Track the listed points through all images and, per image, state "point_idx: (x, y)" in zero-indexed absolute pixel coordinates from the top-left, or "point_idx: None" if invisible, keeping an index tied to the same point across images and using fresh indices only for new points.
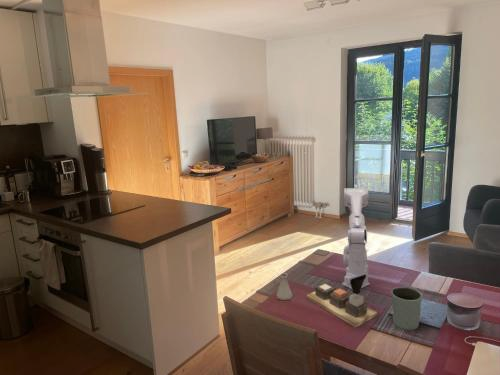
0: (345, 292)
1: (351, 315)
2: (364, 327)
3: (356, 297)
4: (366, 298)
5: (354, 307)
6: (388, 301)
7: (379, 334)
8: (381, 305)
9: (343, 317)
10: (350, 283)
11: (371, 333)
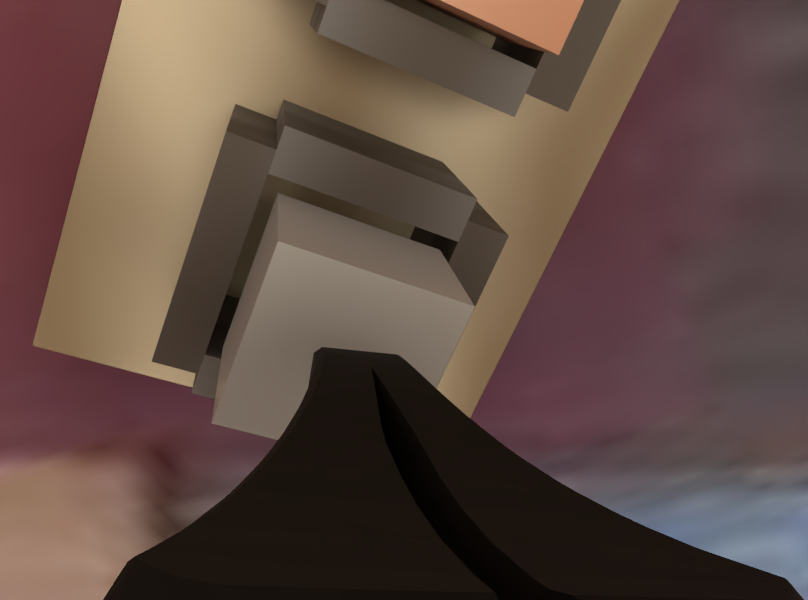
0: (522, 39)
1: (193, 224)
2: (124, 398)
3: (301, 384)
4: (782, 202)
5: (195, 318)
6: (780, 427)
7: (101, 554)
8: (674, 396)
9: (90, 129)
10: (258, 471)
11: (61, 492)
